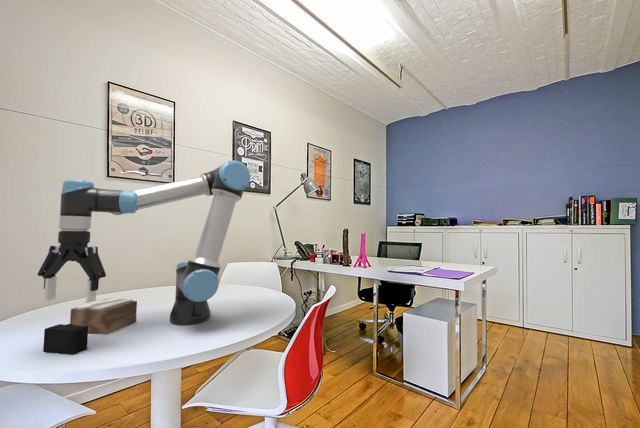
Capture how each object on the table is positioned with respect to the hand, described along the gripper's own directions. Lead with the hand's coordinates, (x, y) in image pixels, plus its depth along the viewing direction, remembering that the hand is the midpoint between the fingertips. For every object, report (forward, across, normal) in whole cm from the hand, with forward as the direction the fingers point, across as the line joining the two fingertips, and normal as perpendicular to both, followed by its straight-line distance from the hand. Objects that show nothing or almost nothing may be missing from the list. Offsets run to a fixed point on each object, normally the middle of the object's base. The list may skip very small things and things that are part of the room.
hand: (70, 300), depth 89 cm
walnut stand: (+14, +6, -20) cm, 25 cm away
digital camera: (+15, 0, 0) cm, 15 cm away
